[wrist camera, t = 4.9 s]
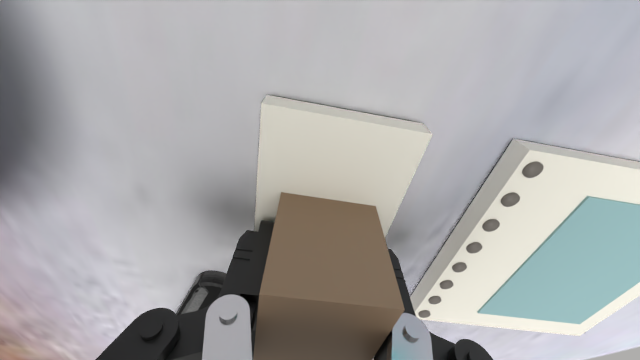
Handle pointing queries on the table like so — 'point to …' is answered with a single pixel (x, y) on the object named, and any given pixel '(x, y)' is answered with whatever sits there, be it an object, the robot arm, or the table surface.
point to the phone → (206, 295)
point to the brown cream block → (330, 228)
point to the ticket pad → (541, 245)
